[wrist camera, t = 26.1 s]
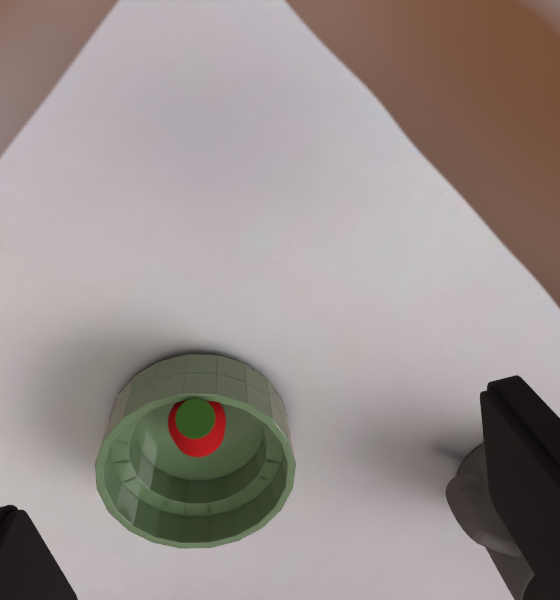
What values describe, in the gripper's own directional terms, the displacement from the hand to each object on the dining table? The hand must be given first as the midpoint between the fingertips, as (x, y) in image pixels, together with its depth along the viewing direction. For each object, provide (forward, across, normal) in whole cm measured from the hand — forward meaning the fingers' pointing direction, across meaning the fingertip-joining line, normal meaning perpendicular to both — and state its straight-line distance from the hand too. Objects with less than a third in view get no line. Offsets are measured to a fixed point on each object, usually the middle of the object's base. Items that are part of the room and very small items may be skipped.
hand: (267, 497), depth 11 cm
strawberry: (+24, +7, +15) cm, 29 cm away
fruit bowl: (+28, +8, +18) cm, 34 cm away
